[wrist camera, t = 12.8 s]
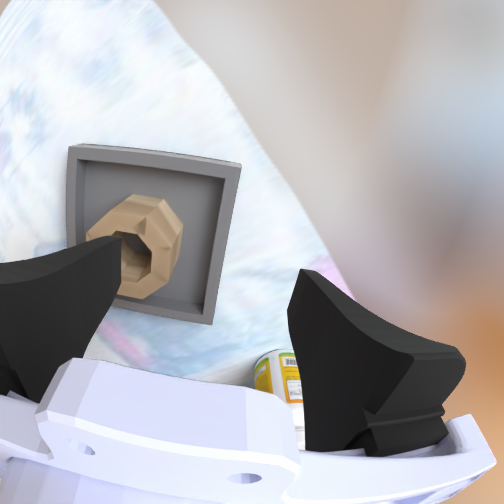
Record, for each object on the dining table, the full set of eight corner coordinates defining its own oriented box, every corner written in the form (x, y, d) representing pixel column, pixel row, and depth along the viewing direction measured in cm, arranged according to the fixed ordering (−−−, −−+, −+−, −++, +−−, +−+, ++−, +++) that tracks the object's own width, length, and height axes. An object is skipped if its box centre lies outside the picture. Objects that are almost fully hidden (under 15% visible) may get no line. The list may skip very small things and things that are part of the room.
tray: (213, 309, 23) (212, 325, 21) (82, 283, 22) (72, 296, 20) (241, 163, 19) (241, 168, 17) (82, 143, 17) (68, 146, 15)
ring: (177, 273, 21) (166, 304, 17) (110, 260, 20) (89, 287, 17) (186, 202, 19) (174, 221, 15) (112, 191, 18) (86, 207, 15)
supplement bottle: (264, 390, 28) (272, 472, 19) (244, 357, 26) (248, 449, 17) (315, 375, 27) (336, 456, 18) (301, 339, 25) (325, 431, 16)
